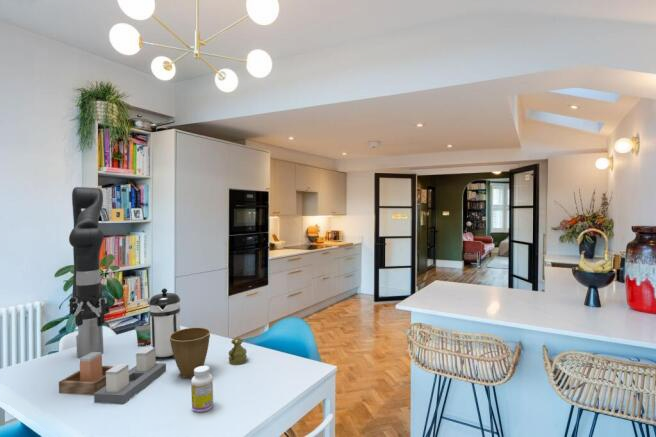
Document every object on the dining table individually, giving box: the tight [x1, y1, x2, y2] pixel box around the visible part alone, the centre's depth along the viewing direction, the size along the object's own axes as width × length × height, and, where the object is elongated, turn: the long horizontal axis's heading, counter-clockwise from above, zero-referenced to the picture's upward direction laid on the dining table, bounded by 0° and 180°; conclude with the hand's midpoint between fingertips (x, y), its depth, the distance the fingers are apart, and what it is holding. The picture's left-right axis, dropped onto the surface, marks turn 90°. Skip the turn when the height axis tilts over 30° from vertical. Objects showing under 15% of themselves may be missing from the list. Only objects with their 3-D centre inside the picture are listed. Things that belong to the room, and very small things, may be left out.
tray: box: [58, 365, 115, 396], centre depth 138 cm, size 14×14×4 cm
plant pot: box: [170, 326, 211, 379], centre depth 145 cm, size 15×15×16 cm
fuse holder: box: [93, 362, 167, 405], centre depth 137 cm, size 25×11×3 cm, turn 173°
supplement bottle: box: [190, 365, 214, 413], centre depth 120 cm, size 7×7×13 cm
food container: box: [134, 321, 151, 347], centre depth 180 cm, size 12×6×10 cm, turn 168°
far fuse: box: [135, 346, 157, 372], centre depth 145 cm, size 6×4×10 cm, turn 173°
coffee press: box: [148, 288, 181, 360], centre depth 165 cm, size 17×16×30 cm
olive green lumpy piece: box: [228, 336, 248, 366], centre depth 156 cm, size 7×8×10 cm
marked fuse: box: [78, 352, 103, 382], centre depth 138 cm, size 6×4×10 cm, turn 172°
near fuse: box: [106, 363, 130, 393], centre depth 129 cm, size 6×4×10 cm, turn 173°
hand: (89, 325), depth 138 cm, fingers open, 8 cm apart
